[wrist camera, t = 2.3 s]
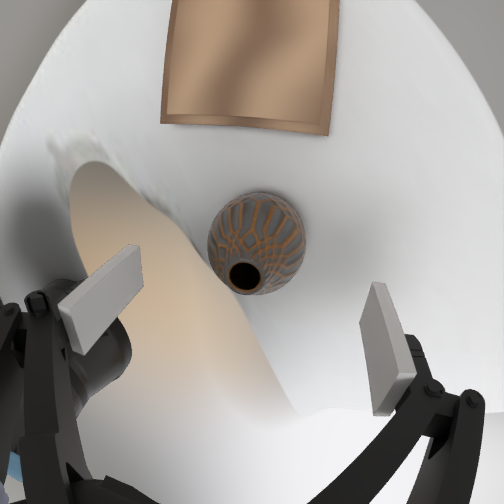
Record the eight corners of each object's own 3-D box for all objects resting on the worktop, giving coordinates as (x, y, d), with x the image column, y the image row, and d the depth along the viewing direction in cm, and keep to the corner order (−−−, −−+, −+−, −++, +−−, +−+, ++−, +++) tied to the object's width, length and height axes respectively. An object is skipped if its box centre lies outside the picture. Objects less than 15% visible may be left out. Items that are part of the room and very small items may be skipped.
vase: (206, 212, 25) (163, 256, 17) (276, 168, 23) (262, 194, 15) (251, 276, 27) (230, 340, 19) (320, 240, 25) (327, 297, 17)
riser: (173, 122, 22) (157, 123, 20) (187, -7, 17) (173, -20, 15) (325, 134, 21) (328, 136, 18) (336, -4, 16) (340, -19, 13)
